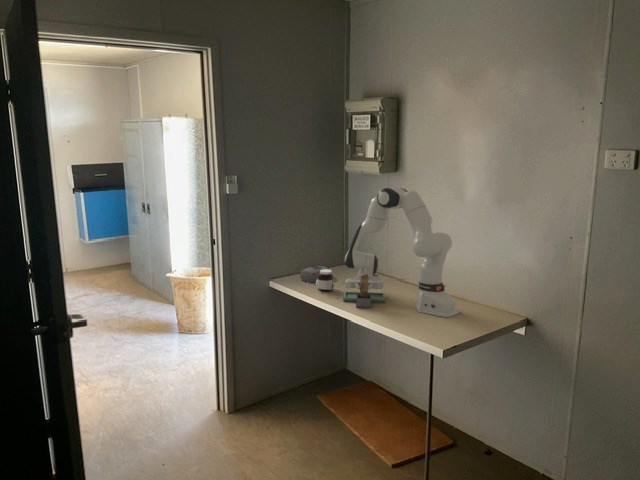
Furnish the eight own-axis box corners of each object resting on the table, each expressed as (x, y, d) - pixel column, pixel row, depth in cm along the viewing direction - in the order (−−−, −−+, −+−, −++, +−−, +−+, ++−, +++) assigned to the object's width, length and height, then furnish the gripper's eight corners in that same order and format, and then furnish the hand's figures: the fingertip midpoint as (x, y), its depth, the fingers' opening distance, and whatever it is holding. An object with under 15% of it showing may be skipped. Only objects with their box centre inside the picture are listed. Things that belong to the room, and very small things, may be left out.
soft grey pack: (313, 284, 308) (336, 278, 321) (313, 271, 306) (336, 265, 319) (296, 279, 318) (320, 274, 332) (296, 266, 317) (320, 261, 330)
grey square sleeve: (370, 303, 270) (371, 294, 269) (370, 308, 263) (370, 299, 262) (356, 303, 271) (356, 294, 270) (356, 307, 264) (356, 298, 263)
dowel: (368, 304, 267) (369, 275, 264) (363, 306, 264) (364, 276, 261) (363, 302, 270) (363, 273, 267) (358, 304, 267) (358, 275, 264)
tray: (384, 296, 283) (384, 292, 283) (384, 302, 272) (384, 299, 271) (344, 294, 286) (344, 291, 285) (343, 301, 274) (343, 297, 274)
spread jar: (327, 293, 289) (327, 273, 287) (310, 290, 294) (310, 271, 292) (337, 288, 299) (337, 269, 297) (320, 285, 304) (320, 266, 302)
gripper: (345, 274, 278) (343, 281, 265) (383, 275, 276) (383, 282, 263) (345, 285, 280) (343, 292, 266) (382, 286, 277) (383, 294, 264)
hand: (363, 287), depth 264 cm, fingers closed on dowel, 4 cm apart
